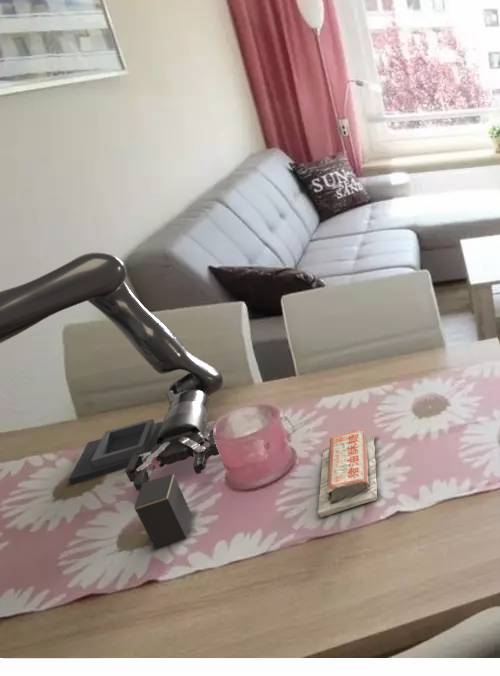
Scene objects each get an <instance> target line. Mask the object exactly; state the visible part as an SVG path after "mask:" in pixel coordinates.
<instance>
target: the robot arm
mask: <svg viewBox="0 0 500 676" xmlns="http://www.w3.org/2000/svg"><path fill="white" fill-rule="evenodd" d="M126 277H127V268H126V266H125V263H124V262H123V261H122V260H121V259H119V258H118V257H117V256H115V255H113V254H110V253H106V252H97V251H95V252H88V253H84V254H81V255H79V256H77V257H75V258H74V259H72V260H70V261H69V262H67V263H65V264H63V265H61V266H59V267H58V268H56V269H53V270H52V271H51V270H50V272H47V273H45V274H43V275H41V276H39V277H37V278H35V279H33V280H30V281H28V282H25V283H23V284H20V285H16V286H14V287H10V288H7V289H4V290H0V344H3V343H4V342H6V341H9V340H10V339H12V338H14V337H16V336H17V335H19V334H21V333H23V332H24V331H26V330H28V329H30V328H31V327H33V326H35V325H36V324H39V323H40V322H42V321H44V320H45V319H47V318H49V317H50V316H52V315H55V314H57V313H59V312H62V311H63V310H67V309H69V308H71V307H74V306H77V305H79V304H82V303H85V302H88V303H89V304H91V305H92V306H94V307H95V308H96V309H97V310H99V312H100V313H102V314H103V315H104V316H105V317H106V318H107V319H108V320H109V321H110V322H111V323H113V325H115V327H116V328H117V329H118V330H119V331H120V333H122V335H123V336H124V337H125V339H126V340H127V341H128V342H129V343H130V344H131V345H132V347H134V349H135V350H136V351H137V352H138V353H139V354H140V355H141V357H142V358H143V359H144V360H145V361H146V362H147V363H148V364H149V365H150V366H151V368H152V369H153V370H154V371H156V373H158V374H160V375H164V374H168V373H172V372H174V371H180V370H182V371H186V372H187V373H185V374H184V375H183V374H182V376H180V377H178V378H176V379H175V380H173V381H172V382H171V383H170V384H169V385H168V386H167V388H166V391H165V392H166V396H167V400H168V403H169V407H168V410H167V412H166V414H165V416H164V417H163V420H162V422H163V423H162V426H161V429H160V432H159V435H158V438H157V442H156V446H155V447H154V448H153V449H152V451H151V452H147V453H144V454H142V452H141V451H137V452H135V453H134V454H133V456H132V458H131V460H130V462H129V464H128V466H127V468H125V471H124V472H125V474H126V476H127V478H128V480H129V482H130V483H132V484H133V485H134V489H135V490H136V491H138V493H139V492H140V489H141V486H142V483H144V482H148V481H150V478H151V477H152V476H153V475H155V473H160V472H161V471H163V469H164V468H166V467H167V466H169V465H171V464H175V463H177V462H181V461H184V460H187V459H189V458H190V459H193V465H192V467H193V470H194V472H195V474H196V475H200V474H202V472H203V470H205V469H206V467H207V463H208V460H209V459H210V457H212V456H213V457H216V456H218V455H220V454H219V452H218V449H217V447H216V444H215V441H214V438H213V429H214V428H212V429H210V431H209V433H207V434H205V433H206V429H207V428H206V427H207V426H208V413H209V409H210V398H209V397H210V396H211V395H213V394H215V393H216V392H218V391H219V390H221V389H222V388H223V385H224V377H223V375H222V373H221V372H220V370H219V369H217V368H216V367H215V366H214V365H212V364H210V363H208V362H207V361H205V360H203V359H202V358H200V357H199V356H197V355H196V354H195V353H193V352H191V351H190V350H189V349H188V348H187V347H186V346H185V345H184V344H183V342H182V341H180V339H179V338H178V337H177V336H176V335H175V334H174V332H173V331H172V330H171V329H170V328H168V326H167V325H165V324H164V323H163V322H162V321H161V320H160V319H159V318H158V317H156V315H154V314H153V313H152V312H150V311H149V309H147V308H146V306H145V305H143V304H142V303H141V301H140V300H139V299H138V298H137V297H136V296H135V294H134V293H133V291H132V290H131V289H130V287H129V286H128V284H127V282H126ZM206 442H207V444H208V446H207V447H205V446H204V445H205V443H206ZM158 462H159V463H158ZM148 468H149V469H148ZM147 469H148V470H147Z"/></svg>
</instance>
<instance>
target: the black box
mask: <svg viewBox="0 0 500 676" xmlns="http://www.w3.org/2000/svg"><path fill="white" fill-rule="evenodd" d="M136 498H137V499H136V501H135V503H134V506H133V509H134V510H135V513H136V514H137V516H138V518H139V521H140V522H141V524H142V526H143V527H144V530H145V531H146V533H147V535H148V538H149V539H150V542H151V543H152V545H153V547H154V549H155V550H158V549H161V548H163V547H166V546H169V545H172V544H175V543H178V542H180V541H183V540H186V539H187V538H188V534H189V533H188V532H189V528H190V524H191V519H192V514H193V513H192V512H191V509H190V507H189V505H188V502H187V501H186V498H185V497H184V494H183V492H182V490H181V488H180V485H179V483H178V481H177V479H176V476H175V474H174V473H170V474H168V475H164V476H161V477H158V478H154V479H151V480H149V481H148V482H144V483H142V486H141V489H140V492H139V491H138V495H137V497H136Z"/></svg>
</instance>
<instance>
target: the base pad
mask: <svg viewBox="0 0 500 676" xmlns="http://www.w3.org/2000/svg"><path fill="white" fill-rule="evenodd" d="M162 423H163V421H159V422H155V420H154V418H150V419H145V420H143V421H142V420H141V421H139V422H136V423H135V422H134V423H131V424H127V425H123V426H120V427H117V428H114V429H110V430H107V431H104V433H103V436H102V437H101V438H99V439H95V440H92V441H89V442H87V444H86V446H85V448H84V449H83V452H82V453H81V456H80V457H79V459H78V461H77V463H76V465H75V466H74V469H73V471H72V473H71V475H70V477H69V478H68V479H69V481H70V483H71V485H74V484H78V483H79V482H84V481H87V480H90V479H94V478H97V477H100V476H104V475H107V474H110V473H114V472H117V471H120V470H124V469H126V468H127V466H128V464H129V462H130V460H131V458H132V456H133V454H134V453H135V452H137V451H141V452H142V454H144V453H147V452H151V451H152V449H153V448H154V447H155V446H156V442H157V438H158V435H159V432H160V429H161V426H162Z"/></svg>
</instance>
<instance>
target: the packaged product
mask: <svg viewBox="0 0 500 676" xmlns="http://www.w3.org/2000/svg"><path fill="white" fill-rule="evenodd" d="M329 438H330V439H329V446H328V447H326V448H324V449H323V450H322V457H321V472H320V473H321V474H320V482H319V483H320V484H319V496H318V507H317V508H318V510H317V514H318V516H319V517H320V518H325V517H327V516H331V515H334V514H336V513H339V512H342V511H345V510H348V509H352V508H354V507H357V506H361V505H364V504H367V503H371V502H375V501H378V490H377V489H378V488H377V487H378V486H377V474H376V473H377V472H376V466H377V465H376V463H377V460H376V455H375V454H376V448H375V447H376V446H375V437H374V436H369V437H365V433H364V431H363V430H361V429H360V430H357V429H353V430H350V431H347V432H342V433H339V434H336V435H332V436H330V437H329Z"/></svg>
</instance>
